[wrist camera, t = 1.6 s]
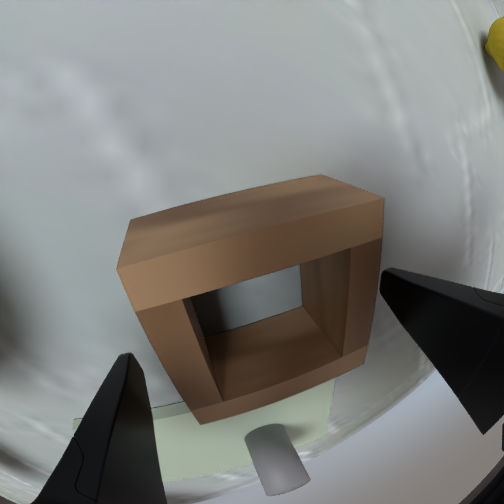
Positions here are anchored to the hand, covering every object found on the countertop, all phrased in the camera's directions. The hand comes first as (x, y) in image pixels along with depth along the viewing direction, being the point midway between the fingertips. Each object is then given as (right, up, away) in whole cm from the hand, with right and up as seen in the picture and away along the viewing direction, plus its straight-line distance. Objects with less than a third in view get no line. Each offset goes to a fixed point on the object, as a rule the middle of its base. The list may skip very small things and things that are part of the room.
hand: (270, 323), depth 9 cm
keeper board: (-3, -10, +7) cm, 13 cm away
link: (-1, +1, +2) cm, 3 cm away
